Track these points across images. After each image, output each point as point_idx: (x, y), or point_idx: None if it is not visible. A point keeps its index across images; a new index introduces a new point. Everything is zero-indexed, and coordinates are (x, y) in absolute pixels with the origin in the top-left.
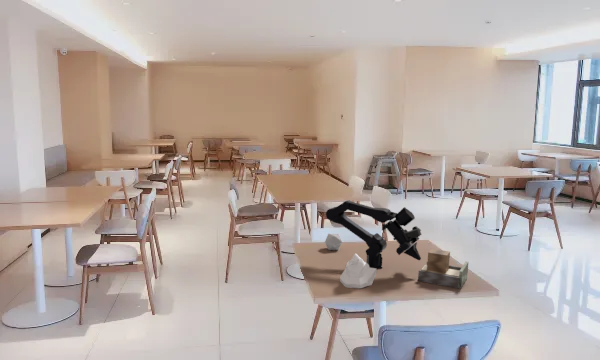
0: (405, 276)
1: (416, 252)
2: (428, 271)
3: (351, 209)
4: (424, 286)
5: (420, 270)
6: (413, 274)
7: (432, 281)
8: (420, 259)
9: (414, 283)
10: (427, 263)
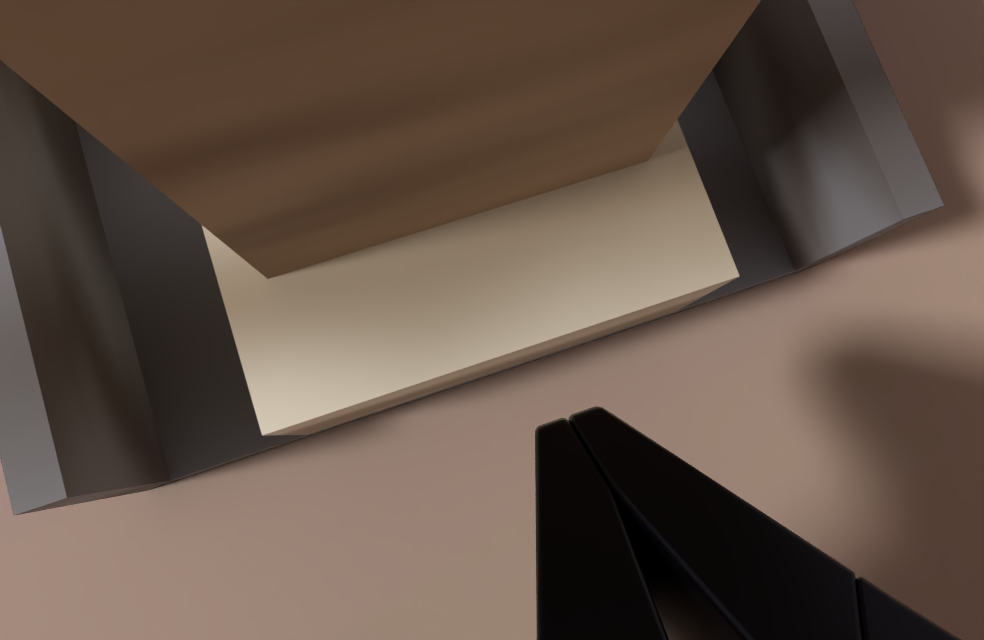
0: None
1: (838, 616)
2: None
3: None
4: (947, 50)
5: (890, 188)
6: None
7: None
8: (594, 414)
9: (976, 230)
10: (708, 70)
